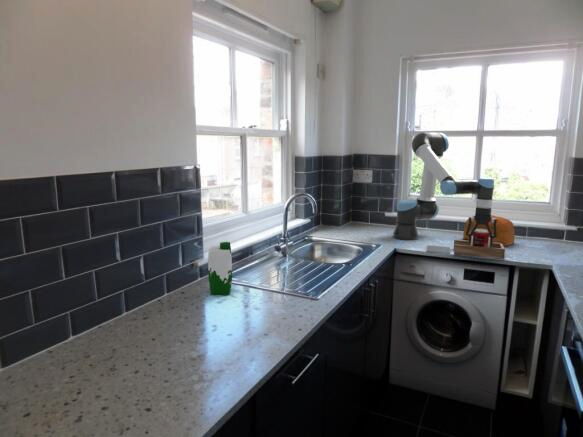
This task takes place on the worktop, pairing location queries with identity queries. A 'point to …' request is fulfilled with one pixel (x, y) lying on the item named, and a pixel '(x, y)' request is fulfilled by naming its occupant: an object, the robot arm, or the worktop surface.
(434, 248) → the mat
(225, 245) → the milk carton
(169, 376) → the worktop surface
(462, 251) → the wooden tray
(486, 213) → the robot arm
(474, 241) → the canned food
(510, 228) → the bread
